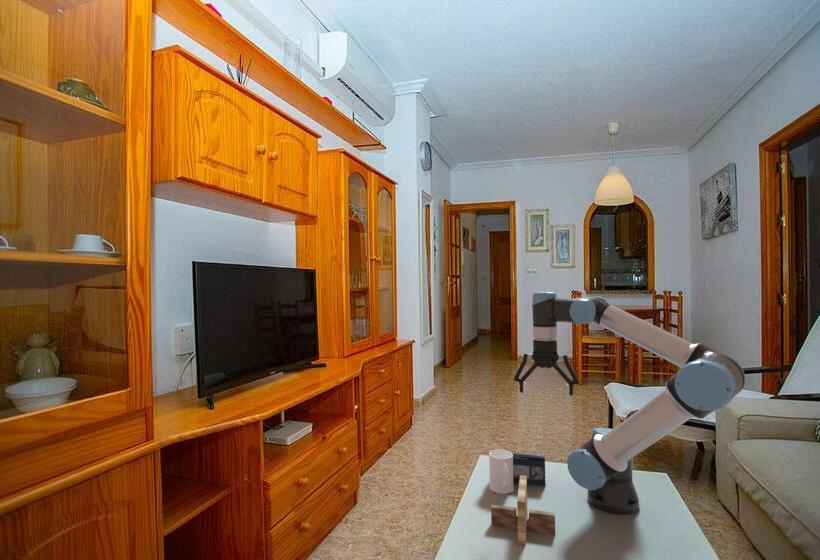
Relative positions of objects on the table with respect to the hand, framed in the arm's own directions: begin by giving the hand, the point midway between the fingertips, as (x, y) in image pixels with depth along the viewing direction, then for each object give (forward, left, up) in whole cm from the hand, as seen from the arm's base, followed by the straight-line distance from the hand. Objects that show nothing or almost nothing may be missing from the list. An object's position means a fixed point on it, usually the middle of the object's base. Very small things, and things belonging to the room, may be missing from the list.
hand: (546, 403), depth 145 cm
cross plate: (+7, +19, -32) cm, 38 cm away
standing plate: (+7, +19, -32) cm, 38 cm away
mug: (+15, -3, -32) cm, 35 cm away
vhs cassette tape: (+10, -10, -32) cm, 35 cm away
